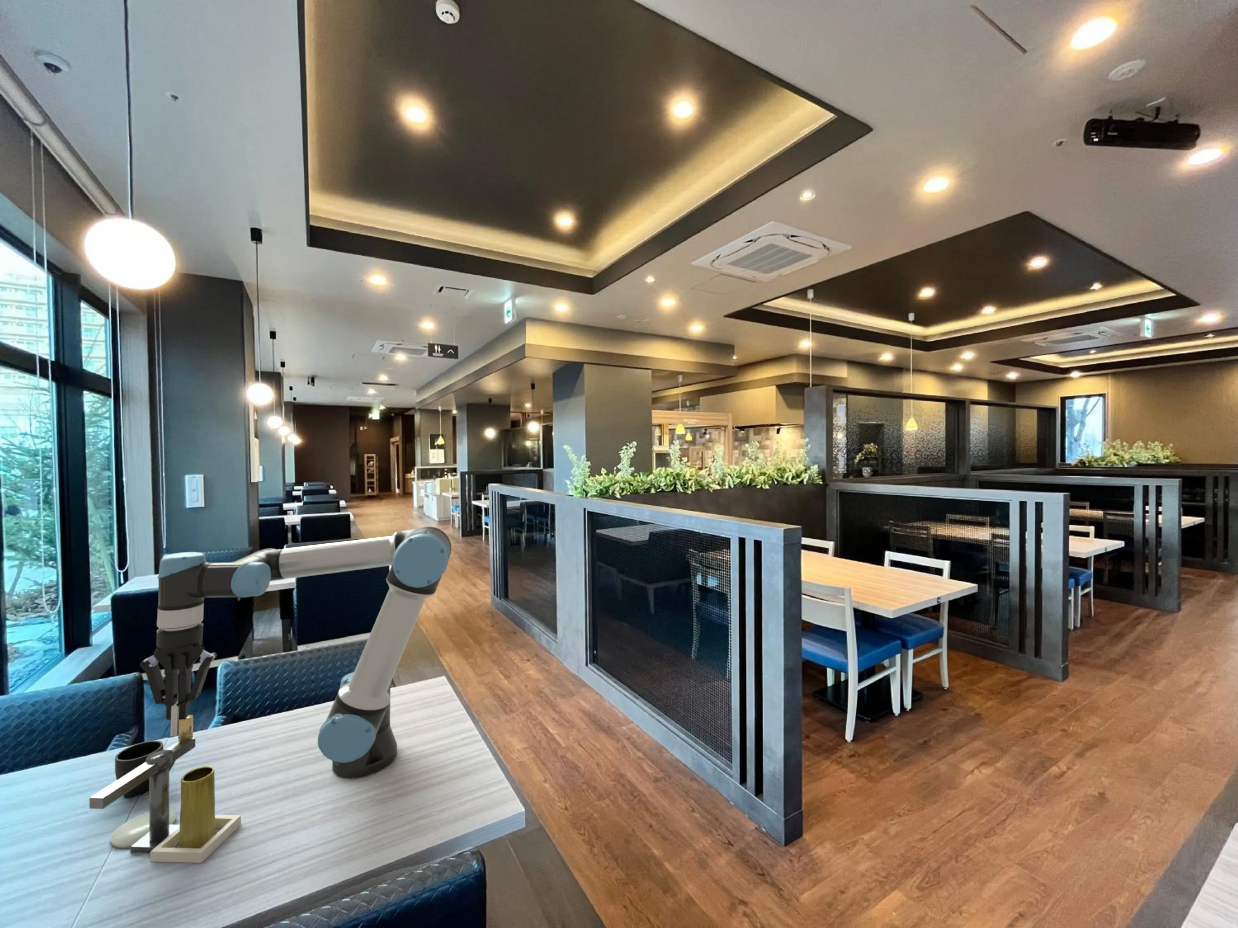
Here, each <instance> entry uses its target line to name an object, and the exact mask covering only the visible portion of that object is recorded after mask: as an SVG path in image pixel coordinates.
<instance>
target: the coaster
mask: <svg viewBox="0 0 1238 928" xmlns="http://www.w3.org/2000/svg"><path fill="white" fill-rule="evenodd" d="M176 821H177V812H176V811H175V810H173V809H170V808H169V825H175V823H176ZM148 832H149V811H147V812H144V813H142V814H140V815H136V816H134V817H133V818H131V819H129V820H127V821H126V822H124V823H122V824H121V825H119V826H118V827H117V828H115V830H114V832H113V833H112V834H111V836H110V837H111V838H110V844H111V846H112V847H114V848H117V849H127V848H129V849H130V847H131V846H132V845H133V844H135V843H136V842H137V841H138V840H140V839H141V838H142V837H143V836H145V835H146V834H147V833H148Z"/></svg>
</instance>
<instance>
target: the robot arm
mask: <svg viewBox="0 0 1238 928" xmlns="http://www.w3.org/2000/svg"><path fill="white" fill-rule="evenodd" d="M451 555H452V542H451V539H450V537H449V536H448V534H446V533H445V532H444V531H443V529H440V528H438V527H435V526H422V527H417V528H413V529H407V530H401V531H398V530H397V531H395V532H393V534H392V535H391V536H382V537H374V538H373V537H371V538H365V539H357V540H348V541H340V542H330V543H329V542H328V543H322V544H315V545H306V546H305V545H304V546H296V547H289V548H287V547H286V548H282V549H280V548H279V549H278V548H277V549H276V548H264V549H259V550H257V551H255V552H253V553H251V554H249V555H247V556H244V557H242V558H239V559H237V560H235V561H231V562H211V561H209V562H208V561H207V558H206V554H204V552H196V551H188V552H187V551H186V552H177V553H176V552H175V553H171V554H168V555H165V556H163V557H162V558H161V559H160V561H159V569H158V570H159V571H158V575H157V579H158V597H157V598H158V602H157V603H158V604H157V617H156V618H157V619H156V627H157V628H158V629H157V630H156V640H155V641H156V643H155V644H156V649H155V651H154V652H153V655H151V656H149V657H147V658H146V659H144V660H143V661H141V662H140V663H139V666H140V668H141V669H142V670H143V671H144V672H145V674H146V678H147V682H148V684H149V688H150V691H151V694H152V695H151V696H152V698H153V700H154V703H155V704H156V705H161V704H162V705H165V707H166V708H165V720H167V721H170V733H169V734H170V737H177V736H178V719H182V718H185V717H186V716H187V715H189V713H190V711H189V710H190V702H193V701H195V700H196V699H197V698H198V697H199V696H200V695H201V693H202V689H203V687H204V684H205V681H206V677H207V675H208V673H209V670H210V666H211V663H212V662H213V661H214V660H215V658H217V655H218V654H217V653H216V652H211V653H210V652H208V651H207V650H205V649H206V648H205V646H204V644H203V639H204V638H203V637H204V635H203V634H204V623H202V622H203V620H204V606H205V605H204V604H205V603H204V601H205V598H206V599H207V598H245V599H246V598H249V597H259V596H261V595H263V594H265V593H266V592H267V589H268V588H269V587H270V585H271V584H270V582H273V581H274V582H275V581H282V580H287V579H295V578H296V579H297V578H302V577H303V578H304V577H309V576H317V575H319V576H320V575H325V574H326V575H327V574H335V573H342V572H343V573H344V572H349V571H355V570H356V571H357V570H365V569H366V570H367V569H372V568H373V569H374V568H381V567H382V568H383V567H387V566H388V567H389V566H390V569H389V572H388V574H387V576H386V578H385V580H386V581H385V582H386V583H387V584H388V587H389V589H388V591H387V593H386V596H385V599H384V601H383V602H382V605H381V607H380V611H379V612H378V615H377V617H376V620H375V622H374V624H373V626H372V629H371V632H370V634H369V636H368V638H367V641H366V643H365V646H364V647H363V650H362V653H361V655H360V657H359V660H358V661H357V665H356V666H355V670H354V671H352V672H350V673H347V674H345V675H344V676H343V677H342V678H341V680H340V685H339V690H338V692H337V694H336V697H335V699H334V702H333V703H332V705H331V708H330V711H329V714H328V715H327V717H326V720H325V721H324V722H323V724H322V725H321V726H320V728H319V731H318V732H319V733H318V736H317V747H318V749H319V750H320V752H321V753H322V755H323V756H324V757H326V759H328V760H330V761H332V765H331V766H332V767H331V768H332V772H333V773H334V775H336V776H337V777H340V778H344V779H357V778H358V779H359V778H363V777H368V776H371V775H374V774H377V773H378V772H381V771H383V770H385V769H386V768H388V766H391V764H392V763H393V762H394V761H395V759H396V758H397V756H398V743H397V740H396V737H395V734H394V732H393V730H392V727H391V683H392V680H393V678H394V675H395V673H396V671H397V668H398V666H399V663H400V661H401V658H402V656H403V653H404V651H405V649H406V647H407V644H408V642H409V639H410V636H411V634H412V632H413V630H414V627H415V625H416V622H417V620H418V617H419V615H420V613H421V612H422V611H421V610H422V608H423V605H424V604H425V601H426V600H427V598H429V597H431V596H434V595H435V594H436V591H437V588H438V587H439V584H440V581H441V579H442V576H443V574H445V572H446V569H447V567H448V564H449V560H450V556H451ZM199 658H200V659H199ZM198 659H199V663H200V665H199V667H198V670H197V673H196V676H195V679H194V681H193V682H192V677H193V676H192V675H193V674H192V673H193V667H194V663H195V662H197V660H198ZM159 663H160V665H161V666H162V667H163V670H164V672H163V674H164V676H165V682H164V678H163V675H162V671H161V668H160V666H159ZM192 683H193V684H192Z"/></svg>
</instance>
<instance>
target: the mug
mask: <svg viewBox="0 0 1238 928" xmlns="http://www.w3.org/2000/svg"><path fill="white" fill-rule="evenodd" d="M161 750H164V742H162V741H160V740H148V741H143V742H140V743H135V744H133V745H131V746H128V747H126V748H124V749H122V750H121V751H119V752H118V753H117V754H116V755H115V757H114V773H115V777H116V781H117V780H118V779H120V778H121V777H123V776H125V775H126V774H128V773H129V772H131V771H132V770H134V769H136V768H137V767H139V766H140V765H142V764H143V763H145V762H146V758H147V757H148V756H149V755H151V754H153V753H155V752H158V751H161ZM176 761H177V760H175V761H174V762H173V763H172V765H171V766H170V767H169V772H171V770H172V769H173V766H174V765H175V763H176ZM147 793H149V778H148V779H147V780H145V781H144V782H142V783H141V784H140V785H138V786H137V787H135V788H134V789H132V790H131V791H129V792H128V793H126V794H125V795H123V796H122V797H124V798H125V799H133V798H137V797H140V796H143V795H145V794H147Z"/></svg>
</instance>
